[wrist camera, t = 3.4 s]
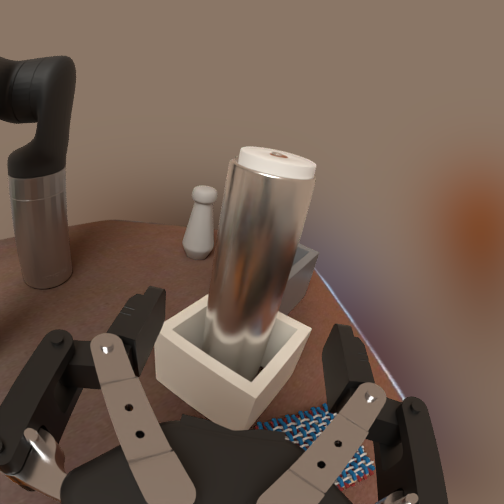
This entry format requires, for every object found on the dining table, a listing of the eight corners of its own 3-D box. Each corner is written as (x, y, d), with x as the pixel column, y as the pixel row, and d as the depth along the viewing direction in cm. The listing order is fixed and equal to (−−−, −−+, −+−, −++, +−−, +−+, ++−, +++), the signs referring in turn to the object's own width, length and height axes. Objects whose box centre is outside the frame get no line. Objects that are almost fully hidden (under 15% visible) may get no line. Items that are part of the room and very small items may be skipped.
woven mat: (288, 516, 19) (295, 512, 18) (247, 430, 27) (251, 422, 26) (373, 476, 23) (383, 469, 22) (329, 407, 32) (335, 398, 31)
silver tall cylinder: (226, 350, 37) (269, 143, 25) (265, 381, 33) (335, 165, 22) (186, 375, 32) (213, 142, 20) (227, 412, 29) (288, 167, 17)
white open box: (156, 378, 30) (153, 328, 27) (217, 331, 39) (225, 282, 36) (239, 439, 26) (255, 398, 22) (291, 375, 35) (312, 328, 31)
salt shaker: (201, 266, 53) (210, 195, 47) (175, 254, 54) (181, 186, 48) (217, 254, 58) (228, 188, 52) (193, 244, 59) (201, 180, 53)
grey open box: (209, 294, 46) (216, 245, 42) (248, 268, 55) (258, 225, 51) (272, 330, 42) (287, 280, 38) (304, 296, 51) (319, 252, 47)
